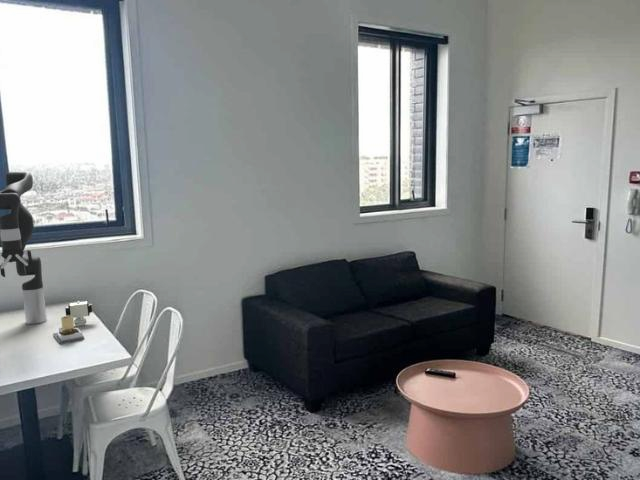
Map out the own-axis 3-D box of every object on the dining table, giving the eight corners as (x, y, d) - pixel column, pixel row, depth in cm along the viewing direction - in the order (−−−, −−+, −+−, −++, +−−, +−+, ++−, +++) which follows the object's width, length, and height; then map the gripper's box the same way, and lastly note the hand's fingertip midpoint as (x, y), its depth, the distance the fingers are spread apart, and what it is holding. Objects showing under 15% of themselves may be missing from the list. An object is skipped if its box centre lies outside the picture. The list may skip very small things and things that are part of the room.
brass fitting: (61, 336, 236) (59, 316, 234) (74, 333, 239) (72, 314, 238) (63, 339, 231) (61, 319, 230) (76, 336, 235) (74, 317, 233)
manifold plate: (53, 335, 241) (52, 329, 240) (76, 331, 247) (75, 324, 246) (59, 344, 229) (59, 337, 228) (84, 339, 235) (83, 332, 234)
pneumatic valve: (93, 324, 257) (91, 300, 255) (67, 328, 252) (64, 303, 250) (93, 321, 262) (91, 298, 260) (67, 325, 257) (65, 301, 255)
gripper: (28, 236, 236) (32, 271, 238) (-9, 239, 227) (-5, 276, 230) (30, 238, 230) (34, 274, 232) (-8, 241, 221) (-3, 279, 224)
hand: (15, 275), depth 231 cm, fingers open, 8 cm apart
